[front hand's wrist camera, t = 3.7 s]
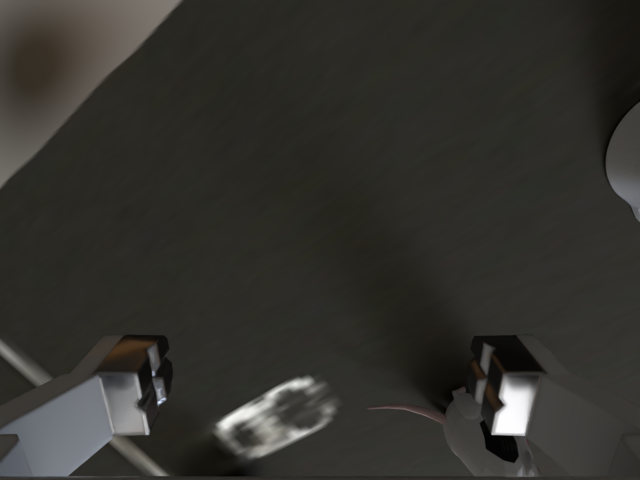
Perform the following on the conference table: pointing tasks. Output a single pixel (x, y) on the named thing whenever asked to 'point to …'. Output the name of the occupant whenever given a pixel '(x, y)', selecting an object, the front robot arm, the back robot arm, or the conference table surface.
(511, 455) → the toy
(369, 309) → the conference table surface
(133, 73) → the conference table surface
